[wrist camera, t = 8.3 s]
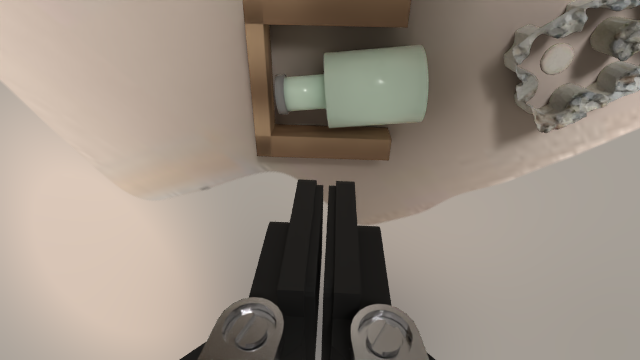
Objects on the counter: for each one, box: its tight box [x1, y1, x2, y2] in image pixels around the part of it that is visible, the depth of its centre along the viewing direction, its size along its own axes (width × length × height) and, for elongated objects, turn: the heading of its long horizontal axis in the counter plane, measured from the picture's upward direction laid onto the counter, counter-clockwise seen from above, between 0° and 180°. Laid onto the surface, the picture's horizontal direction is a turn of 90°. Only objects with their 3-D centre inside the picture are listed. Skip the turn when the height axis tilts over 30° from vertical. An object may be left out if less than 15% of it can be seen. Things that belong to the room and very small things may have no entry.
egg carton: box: [504, 0, 640, 133], centre depth 23 cm, size 11×8×4 cm
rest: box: [243, 0, 411, 160], centre depth 25 cm, size 12×11×2 cm
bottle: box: [274, 45, 428, 128], centre depth 24 cm, size 5×5×10 cm
